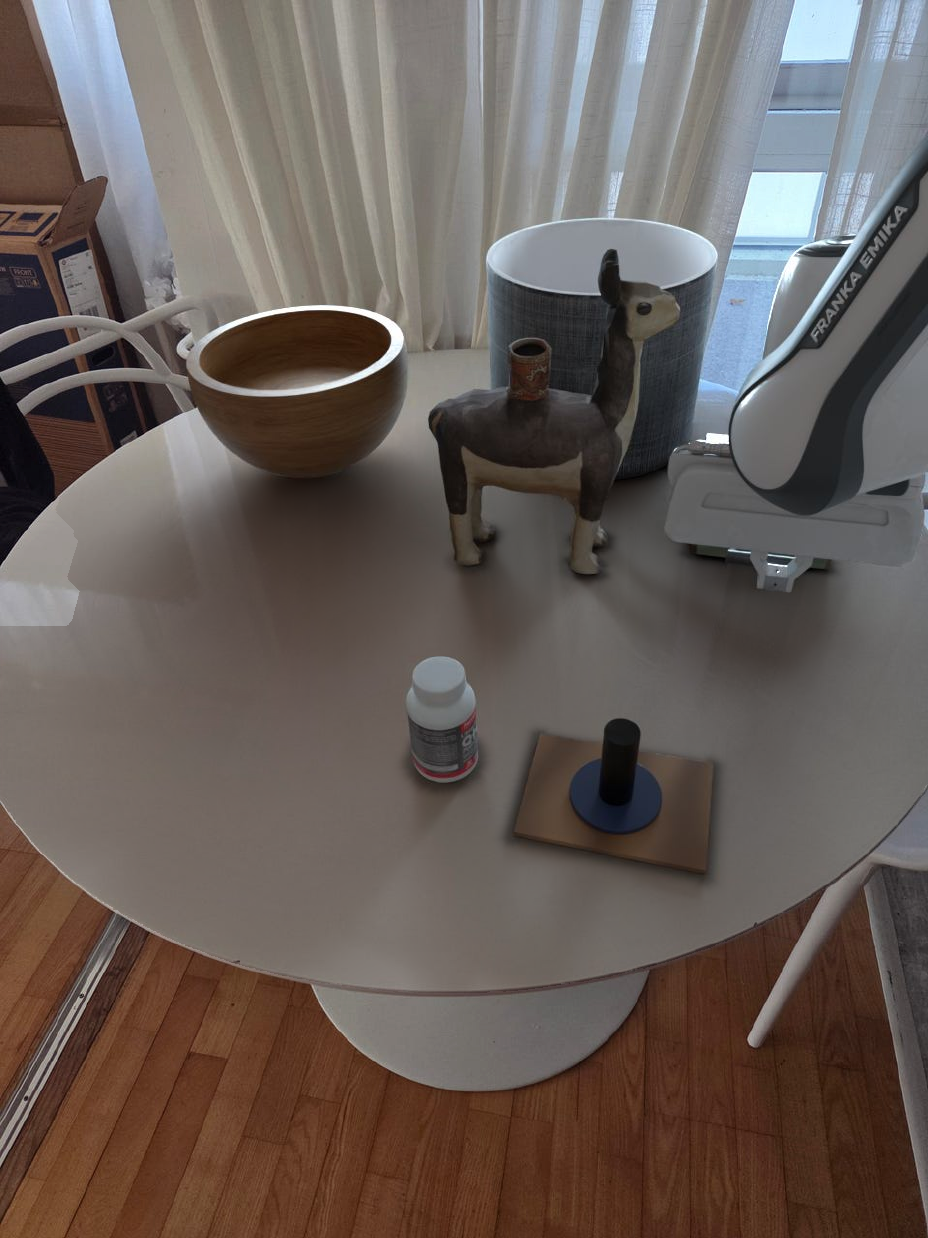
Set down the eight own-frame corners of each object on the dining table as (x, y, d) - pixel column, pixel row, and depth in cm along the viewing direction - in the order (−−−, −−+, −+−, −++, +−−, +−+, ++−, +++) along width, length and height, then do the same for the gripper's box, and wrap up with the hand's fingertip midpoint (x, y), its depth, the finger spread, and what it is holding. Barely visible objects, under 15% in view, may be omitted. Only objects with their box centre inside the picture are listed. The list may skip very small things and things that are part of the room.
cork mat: (712, 767, 68) (713, 762, 68) (705, 874, 61) (706, 870, 61) (539, 737, 71) (540, 733, 71) (513, 836, 64) (513, 832, 64)
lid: (665, 769, 68) (676, 704, 63) (656, 843, 63) (667, 778, 58) (577, 754, 69) (581, 689, 64) (562, 824, 64) (564, 760, 59)
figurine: (653, 584, 86) (690, 280, 66) (428, 572, 89) (401, 279, 69) (651, 525, 94) (684, 238, 74) (444, 516, 97) (423, 238, 77)
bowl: (450, 481, 102) (442, 361, 92) (246, 543, 95) (213, 419, 85) (373, 398, 120) (359, 290, 110) (195, 445, 112) (163, 333, 102)
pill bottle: (480, 783, 68) (475, 697, 62) (413, 787, 68) (401, 702, 62) (477, 731, 72) (472, 646, 66) (413, 736, 72) (402, 651, 66)
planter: (526, 376, 122) (527, 211, 108) (707, 399, 115) (733, 225, 100) (462, 465, 105) (451, 283, 90) (670, 499, 97) (695, 305, 83)
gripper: (666, 457, 68) (652, 593, 77) (949, 482, 63) (898, 624, 72) (674, 420, 73) (659, 552, 82) (938, 441, 68) (891, 579, 77)
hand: (773, 586), depth 77 cm, fingers closed
